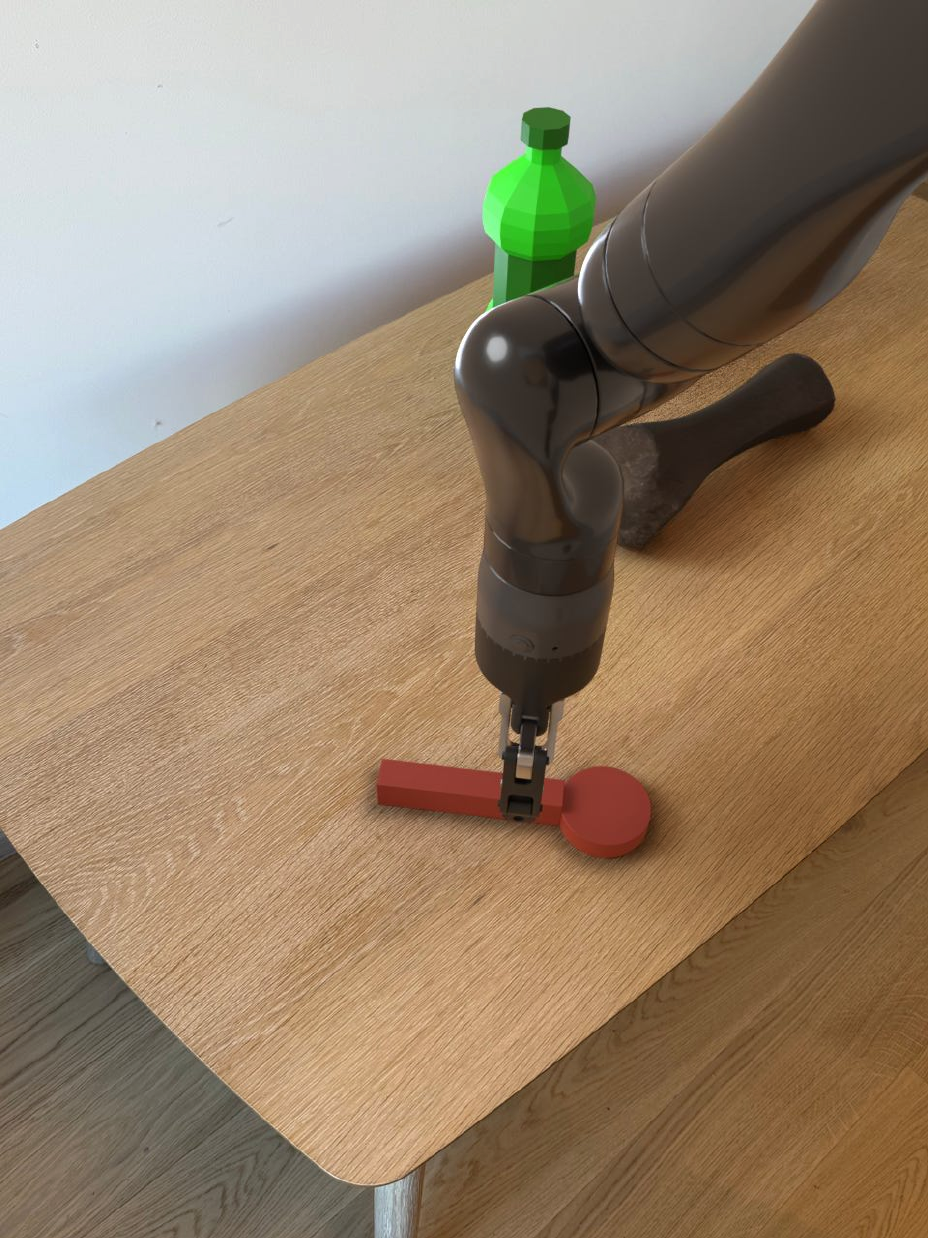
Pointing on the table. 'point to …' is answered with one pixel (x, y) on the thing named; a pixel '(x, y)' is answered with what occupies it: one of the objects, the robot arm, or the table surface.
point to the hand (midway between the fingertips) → (524, 761)
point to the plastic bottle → (537, 210)
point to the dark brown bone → (710, 441)
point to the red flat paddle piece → (583, 808)
